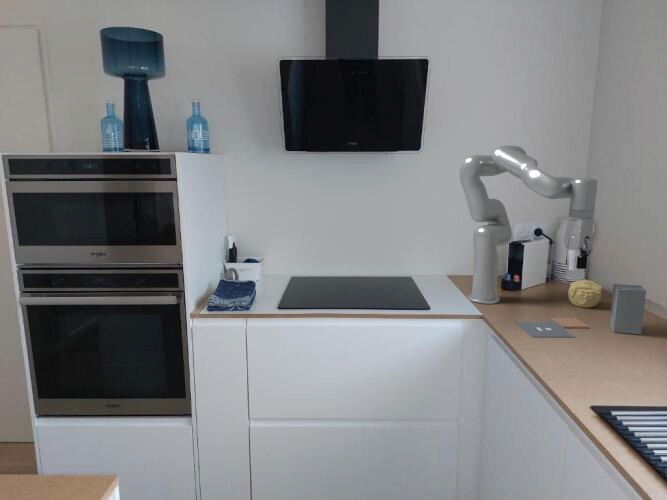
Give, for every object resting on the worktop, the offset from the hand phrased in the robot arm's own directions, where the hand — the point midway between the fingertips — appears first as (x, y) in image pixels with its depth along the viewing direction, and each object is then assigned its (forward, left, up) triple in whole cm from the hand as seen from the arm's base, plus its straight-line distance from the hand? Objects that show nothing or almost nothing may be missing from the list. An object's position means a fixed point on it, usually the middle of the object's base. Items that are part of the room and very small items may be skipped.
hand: (575, 265), depth 156 cm
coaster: (0, 0, -21) cm, 21 cm away
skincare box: (+7, +15, -21) cm, 27 cm away
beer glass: (0, 0, -5) cm, 5 cm away
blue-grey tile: (+6, -12, -21) cm, 25 cm away
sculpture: (-22, +17, -21) cm, 35 cm away
